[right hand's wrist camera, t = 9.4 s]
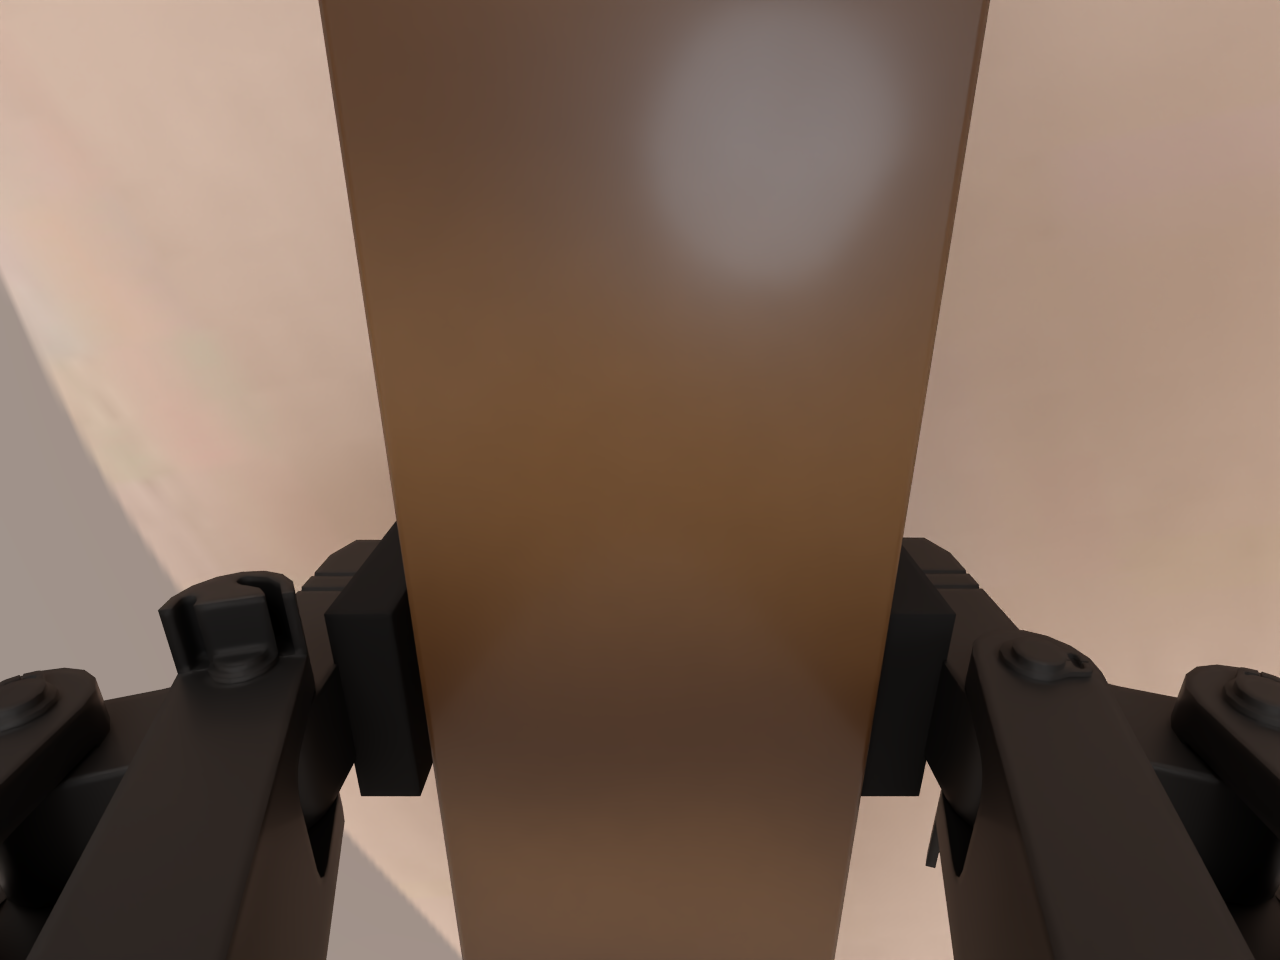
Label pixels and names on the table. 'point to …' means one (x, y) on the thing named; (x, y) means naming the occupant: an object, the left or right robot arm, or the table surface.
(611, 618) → the post
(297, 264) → the table surface
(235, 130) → the table surface
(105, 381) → the table surface
